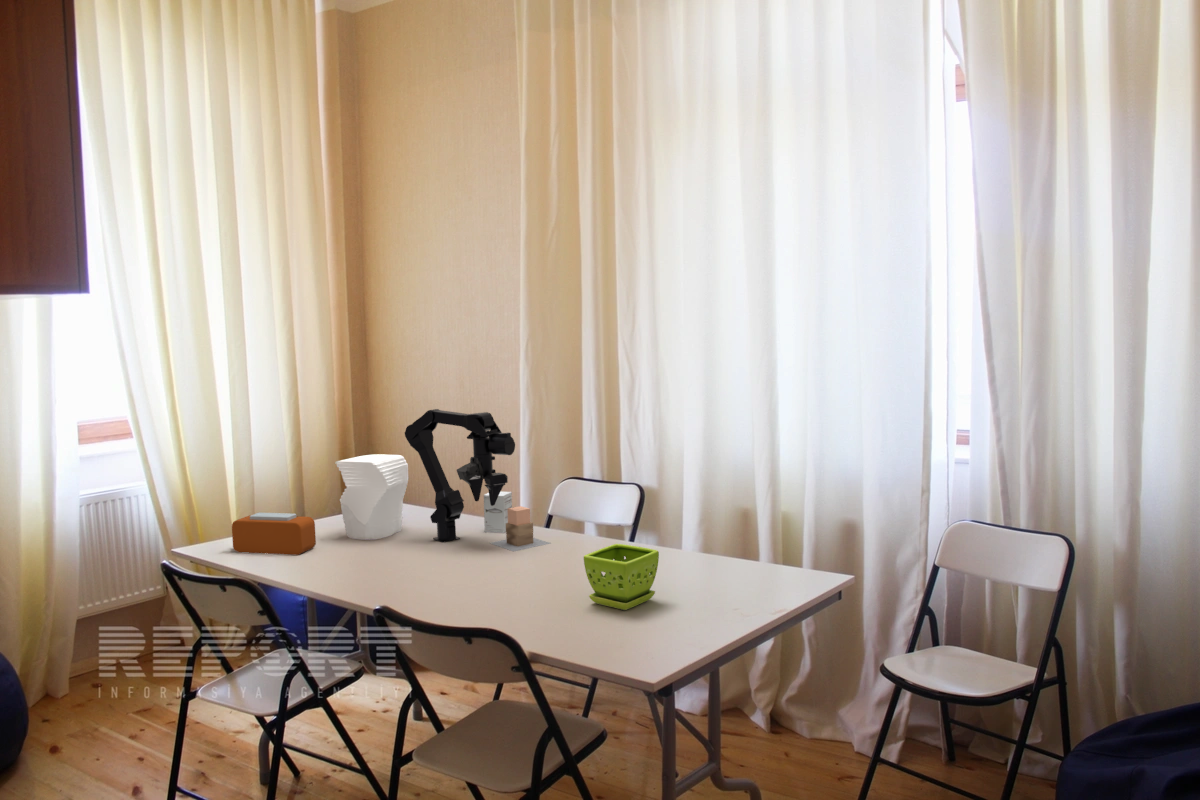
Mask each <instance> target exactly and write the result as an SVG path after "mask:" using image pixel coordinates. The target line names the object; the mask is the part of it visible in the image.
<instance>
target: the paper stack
mask: <svg viewBox="0 0 1200 800" xmlns="http://www.w3.org/2000/svg"><path fill="white" fill-rule="evenodd" d="M335 464H336V468H338V472H340V475H341V478H342V481H343V483H344V485H345V488H344V491H343V492H342V495H340V498H339V501H340V502H339V503H340V508H341V514H342V519H343V523H344V528H345V534H346V536H347V537H348V538H349V539H354V540H362V541H363V540H365V541H369V540H370V541H371V540H372V541H373V540H379V539H383V538H387V537H390V536H392V535H394V534H396V533H399V532H401V530H402V528H403V518H404V517H403V507H404V506H403V504H404V497H405V494H406V491H407V487H408V483H409V480H410V479H409V463H407V460H406V459H405V456H403V455H400V454H386V453H385V454H383V453H382V454H381V453H379V454H377V453H375V454H366V455H365V454H364V455H360V456H359V455H358V456H355V457H350V458H345V459H341V460H336V461H335V463H334V465H335Z"/></svg>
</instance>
